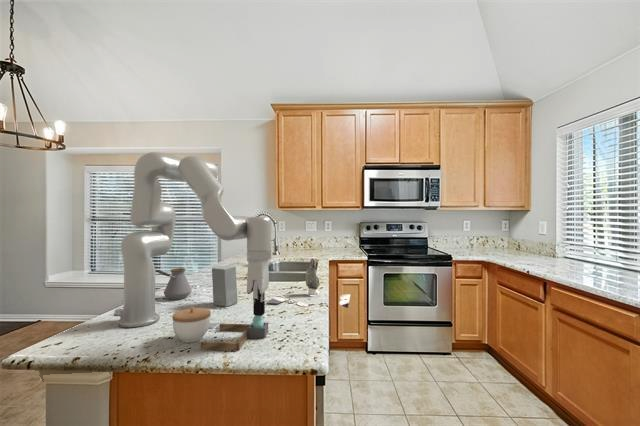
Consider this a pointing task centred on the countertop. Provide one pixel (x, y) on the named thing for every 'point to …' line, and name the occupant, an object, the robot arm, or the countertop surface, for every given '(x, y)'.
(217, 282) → the skincare box
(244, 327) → the walnut bay
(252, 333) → the dark grey open box
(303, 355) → the countertop surface
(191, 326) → the lidded jar
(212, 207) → the robot arm
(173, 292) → the coffee pot
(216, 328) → the space tiles
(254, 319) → the dome
